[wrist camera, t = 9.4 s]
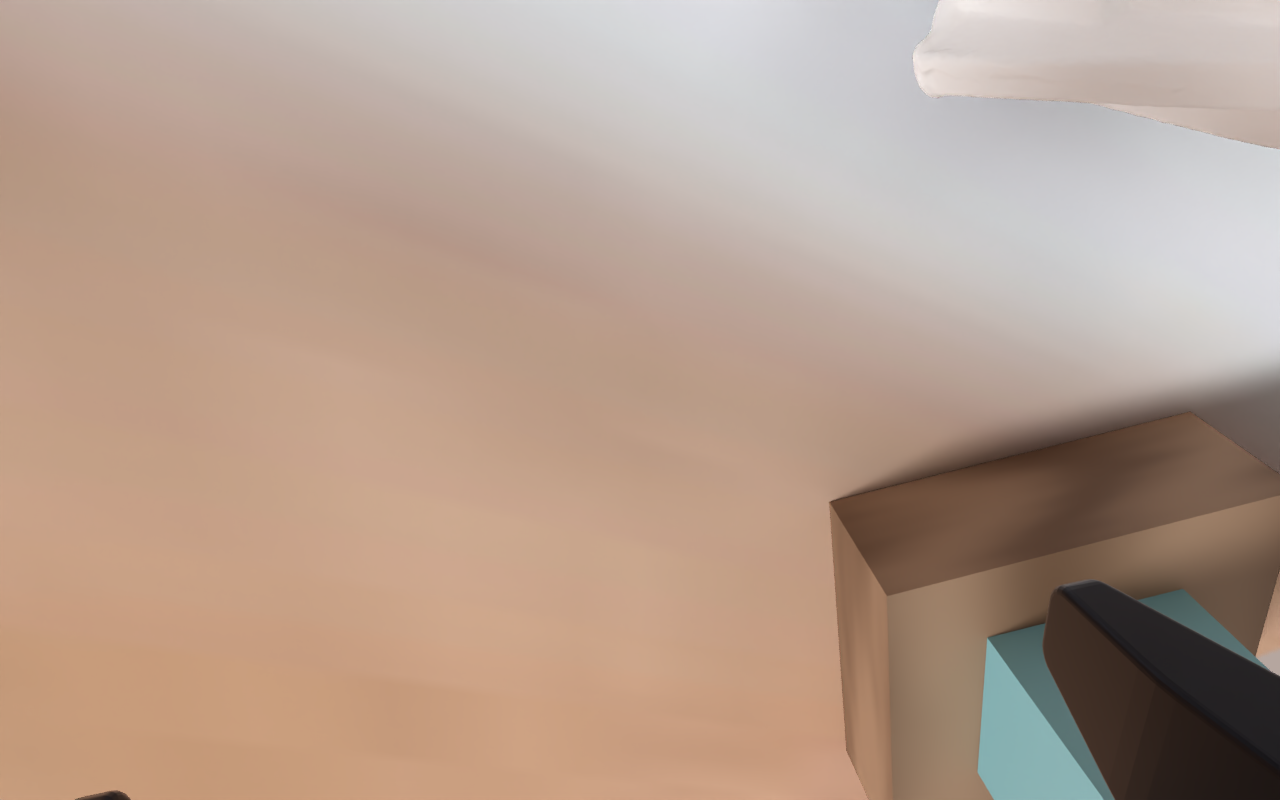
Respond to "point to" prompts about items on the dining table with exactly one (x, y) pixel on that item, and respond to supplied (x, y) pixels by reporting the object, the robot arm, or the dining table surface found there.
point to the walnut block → (1029, 577)
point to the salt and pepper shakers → (1116, 58)
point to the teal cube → (1053, 713)
